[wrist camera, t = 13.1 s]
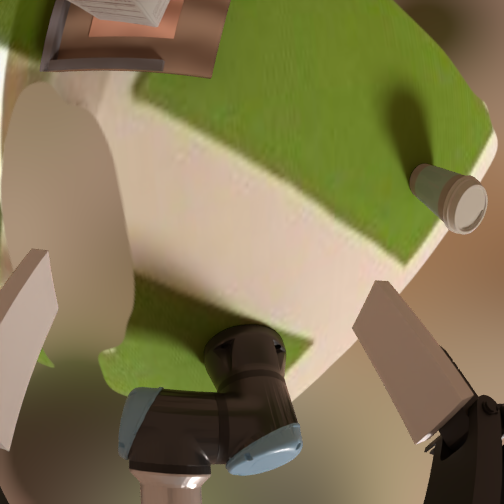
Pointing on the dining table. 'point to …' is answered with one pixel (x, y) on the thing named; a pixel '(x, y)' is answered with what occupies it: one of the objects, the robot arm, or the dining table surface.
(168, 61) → the dock
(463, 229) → the coffee cup
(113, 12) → the supplement box
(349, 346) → the dining table surface
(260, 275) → the dining table surface
